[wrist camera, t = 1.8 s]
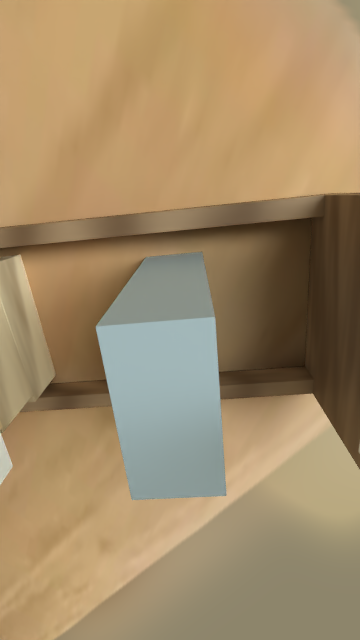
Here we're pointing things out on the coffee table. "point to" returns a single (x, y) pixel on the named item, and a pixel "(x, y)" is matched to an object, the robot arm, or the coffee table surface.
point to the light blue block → (166, 379)
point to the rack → (322, 315)
